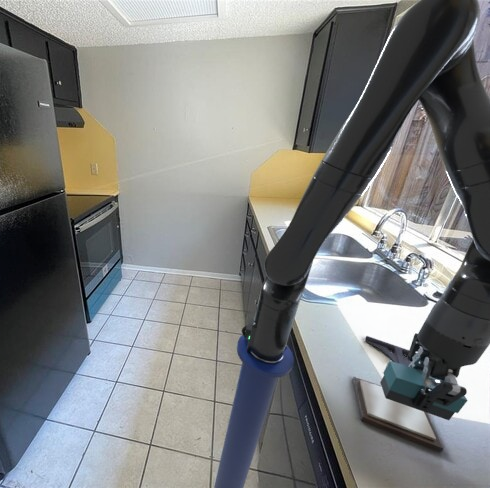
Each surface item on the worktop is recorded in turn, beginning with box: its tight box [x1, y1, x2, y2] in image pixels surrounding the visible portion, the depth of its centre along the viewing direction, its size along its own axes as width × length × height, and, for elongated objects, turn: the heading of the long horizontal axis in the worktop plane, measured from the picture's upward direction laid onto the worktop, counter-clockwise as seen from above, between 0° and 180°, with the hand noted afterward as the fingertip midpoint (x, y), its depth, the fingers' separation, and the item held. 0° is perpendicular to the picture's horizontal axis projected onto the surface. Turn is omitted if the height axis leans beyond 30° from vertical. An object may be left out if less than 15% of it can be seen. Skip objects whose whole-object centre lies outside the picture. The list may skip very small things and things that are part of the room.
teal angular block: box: [379, 360, 468, 421], centre depth 50 cm, size 10×4×6 cm, turn 65°
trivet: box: [351, 376, 445, 453], centre depth 56 cm, size 13×11×2 cm
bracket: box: [364, 335, 417, 367], centre depth 67 cm, size 14×15×3 cm
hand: (414, 395), depth 50 cm, fingers closed on teal angular block, 4 cm apart
